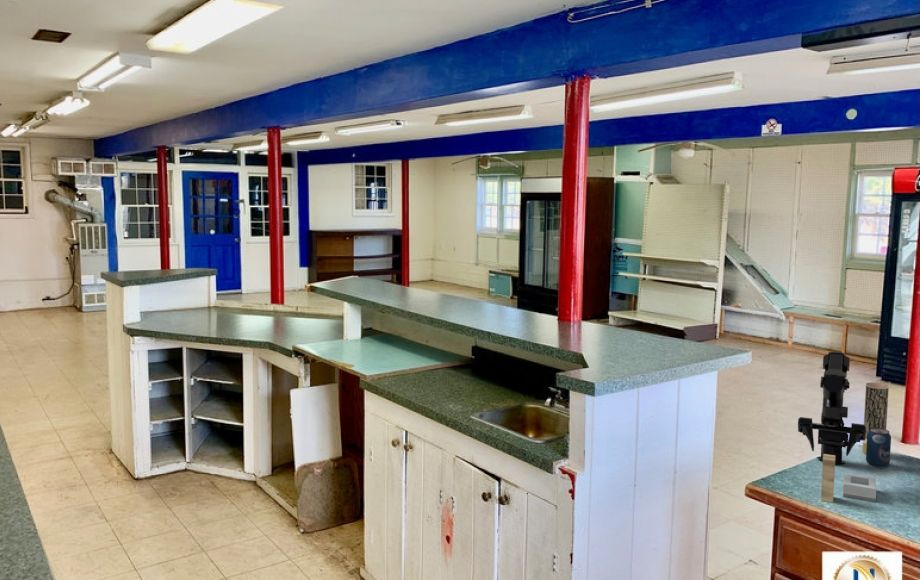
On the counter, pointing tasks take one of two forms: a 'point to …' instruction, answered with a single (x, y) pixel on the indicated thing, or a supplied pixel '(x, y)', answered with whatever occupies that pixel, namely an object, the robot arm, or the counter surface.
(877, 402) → the bark log
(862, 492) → the end cap
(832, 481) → the slat
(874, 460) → the soda can
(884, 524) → the counter surface
